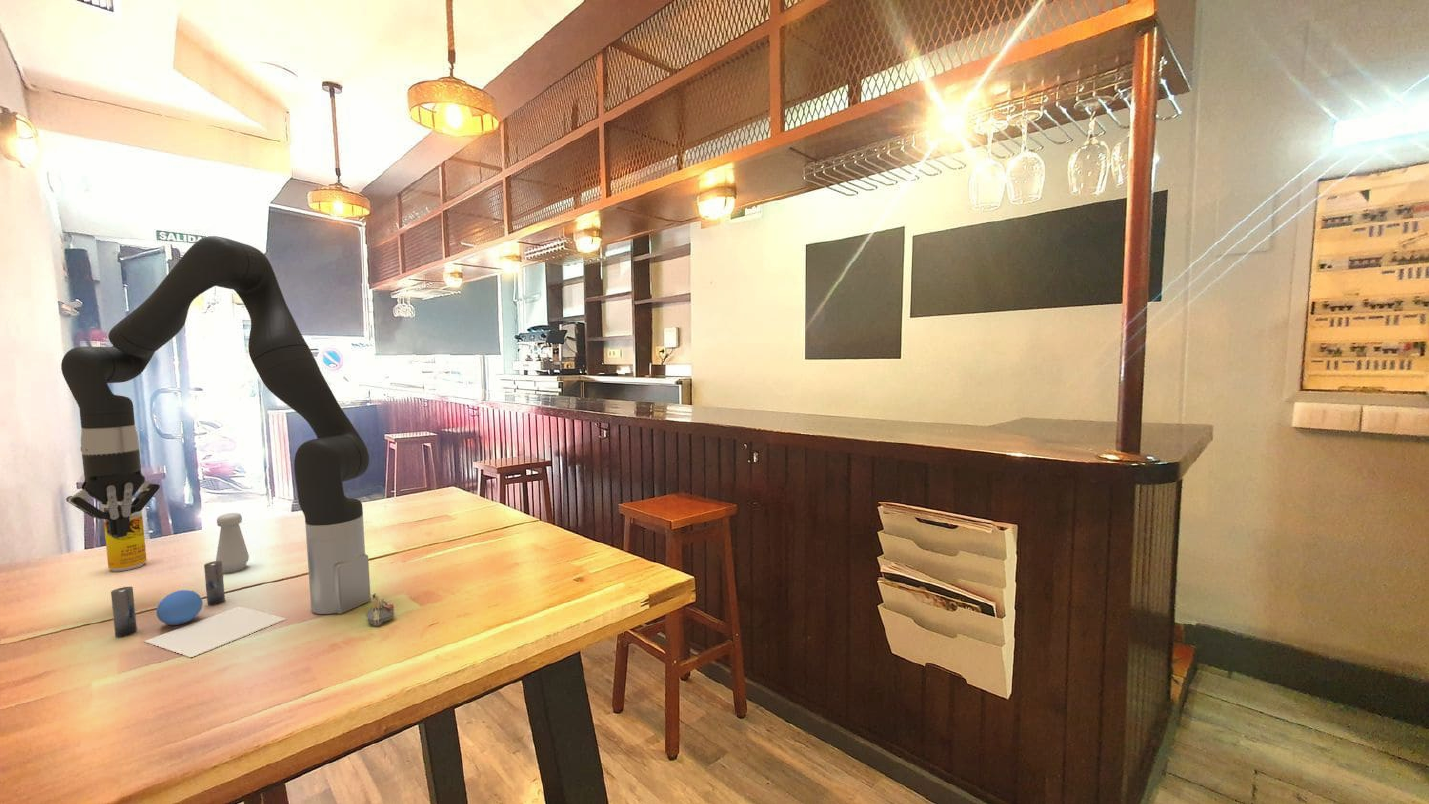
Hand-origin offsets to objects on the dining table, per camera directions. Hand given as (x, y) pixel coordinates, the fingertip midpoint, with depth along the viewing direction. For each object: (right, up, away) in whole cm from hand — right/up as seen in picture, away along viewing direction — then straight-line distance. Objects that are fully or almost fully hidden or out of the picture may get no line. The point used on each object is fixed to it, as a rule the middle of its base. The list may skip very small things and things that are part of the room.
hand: (119, 536), depth 108 cm
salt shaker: (+7, -12, +18) cm, 23 cm away
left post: (+13, -14, -11) cm, 23 cm away
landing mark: (+29, -14, -10) cm, 34 cm away
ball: (+20, -11, -8) cm, 24 cm away
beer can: (-19, -12, +20) cm, 30 cm away
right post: (+18, -13, +1) cm, 23 cm away
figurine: (+56, -14, -7) cm, 58 cm away
